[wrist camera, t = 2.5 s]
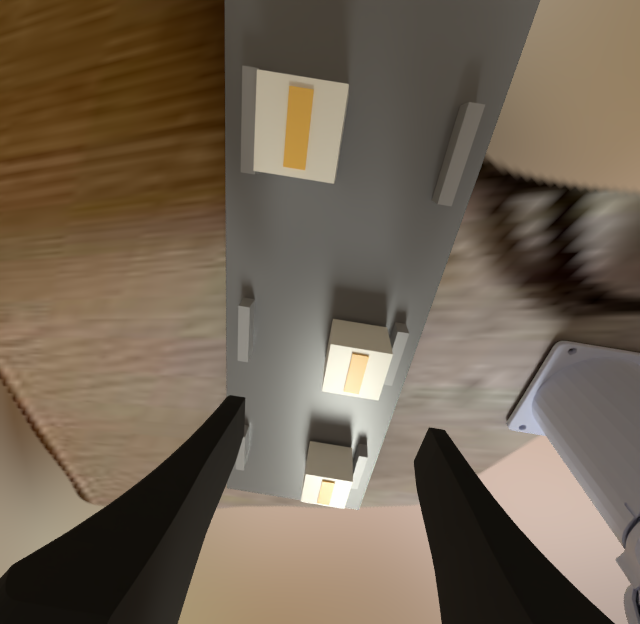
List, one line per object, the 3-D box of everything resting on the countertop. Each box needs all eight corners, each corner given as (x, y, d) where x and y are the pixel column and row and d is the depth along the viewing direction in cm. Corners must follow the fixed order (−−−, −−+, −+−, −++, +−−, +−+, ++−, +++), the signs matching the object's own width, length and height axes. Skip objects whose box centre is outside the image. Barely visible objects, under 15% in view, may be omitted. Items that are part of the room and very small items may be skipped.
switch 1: (348, 96, 12) (349, 83, 10) (336, 178, 13) (333, 184, 11) (273, 83, 12) (255, 68, 10) (268, 167, 13) (252, 170, 11)
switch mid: (387, 327, 17) (393, 355, 14) (374, 370, 18) (378, 401, 16) (332, 318, 17) (330, 345, 14) (324, 361, 18) (321, 392, 16)
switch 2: (352, 447, 22) (352, 483, 19) (344, 474, 23) (344, 510, 21) (310, 440, 22) (305, 475, 19) (305, 467, 23) (300, 503, 21)
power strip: (511, 0, 13) (574, -57, 9) (357, 475, 28) (359, 523, 24) (249, -42, 13) (212, -115, 9) (238, 456, 28) (222, 500, 24)
